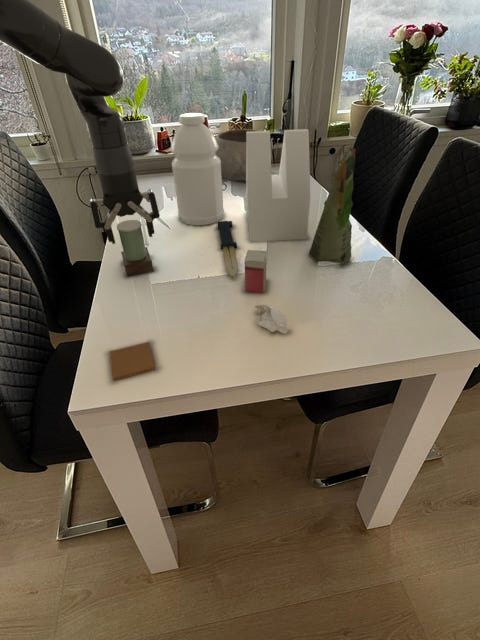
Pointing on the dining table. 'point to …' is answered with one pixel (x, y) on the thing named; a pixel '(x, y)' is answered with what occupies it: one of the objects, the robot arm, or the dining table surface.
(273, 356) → the dining table surface
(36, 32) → the robot arm
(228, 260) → the knife
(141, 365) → the coaster
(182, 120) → the bottle
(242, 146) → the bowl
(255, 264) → the small box
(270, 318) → the tissue
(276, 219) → the white slotted block
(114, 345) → the dining table surface
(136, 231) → the tumbler
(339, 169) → the pouch
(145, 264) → the walnut wood block
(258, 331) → the dining table surface
